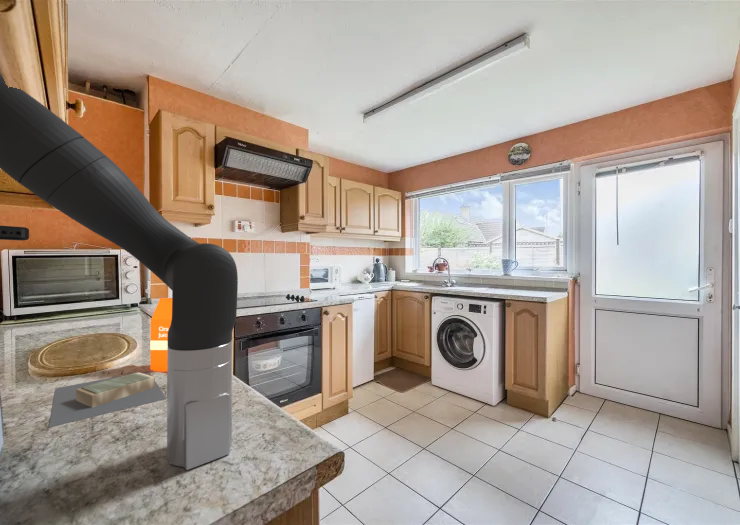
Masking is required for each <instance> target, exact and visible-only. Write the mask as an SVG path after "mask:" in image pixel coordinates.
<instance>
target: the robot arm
mask: <svg viewBox="0 0 740 525" xmlns="http://www.w3.org/2000/svg"><path fill="white" fill-rule="evenodd" d="M2 75H3V74H2V73H1V72H0V169H1V170H2V171H3V172H4V173H5V174H6V175H8V176H9V177H11V179H13V180H14V181H16V182H17V183H18V184H20V185H21V186H22V187H24V188H25V189H26V190H29V191H30V192H31V193H32V194H34V195H36V196H37V197H38V198H40V199H41V200H43V201H44V202H45V203H47V204H49V206H51V207H53V208H55V209H56V210H58V212H61V213H62V214H64V215H66V216H67V217H68V218H70V219H72V220H73V221H75V222H76V223H79V224H80V225H81V226H83V227H85V228H87V229H88V230H90V231H92V232H93V233H95V234H97V235H99V236H100V237H102V238H103V239H106V240H107V241H109V242H110V243H112V244H114V245H116V246H117V247H120V248H121V249H122V250H124V251H126V252H127V253H128V254H130V255H131V256H132V257H133V258H135V260H137V261H139V262H140V264H142V265H144V267H146V268H147V269H148V270H150V271H151V273H153V274H154V275H155V276H156V277H157V278H158V279H159V280H161V282H163V283H164V284H165V285H166V286H167V287H168V288H169V289H170V290H171V292H172V297H171V298H172V319H171V325H170V328H169V330H168V336H167V343H168V347H167V371H166V378H167V379H166V385H167V386H166V459H167V462H168V463H169V464H171V465H172V466H176V467H182V468H184V469H185V470H186V471H188V470H189V471H190V470H191V469H194V468H196V467H199V466H201V465H205V464H206V463H209V462H212V461H215V460H217V459H220V458H222V457H225V456H227V455H230V453H231V447H232V440H233V438H232V437H233V436H232V435H233V434H232V432H233V431H232V430H233V429H232V428H233V425H232V424H233V421H232V420H233V418H232V417H233V416H232V414H233V413H232V410H233V408H232V406H233V405H232V404H233V399H232V397H233V394H232V391H233V390H232V389H233V386H232V384H233V382H232V381H233V379H232V377H233V376H232V375H233V374H232V373H233V371H232V370H233V366H232V365H233V364H232V363H233V362H232V361H233V330H234V327H235V325H236V321H237V314H238V312H237V311H238V310H237V309H238V308H237V307H238V292H239V291H238V285H239V284H238V278H239V277H238V268H237V264H236V262H235V259H234V257H233V256H232V254H231V253H230V252H229V251H228V250H227V249H225V248H224V247H222V246H220V245H217V244H213V243H200V242H198V241H196V240H194V239H193V238H191V237H190V236H189V235H187V234H186V233H184V232H183V231H181V230H180V229H179V228H178V227H176V226H175V225H174V224H172V223H171V222H169V221H168V220H167V219H166V218H165V217H164V216H162V215H161V214H160V213H159V211H158V210H157V209H156V208H155V207H154V206H153V205H152V204H151V202H150V201H149V199H147V197H146V195H144V193H143V192H142V191H141V190H140V189H139V188H138V186H137V185H136V184H135V183H134V182H133V181H132V179H131V178H130V177H129V176H128V175H127V174H126V173H125V172H124V171H123V170H122V169H121V168H120V167H119V166H118V165H117V164H116V163H115V162H114V161H113V160H112V159H111V158H110V157H108V156H107V155H106V154H105V153H103V152H102V151H101V150H100V149H99V148H97V147H96V146H95V145H94V144H93V143H92V142H90V141H89V140H88V139H87V138H85V136H83V135H82V134H81V133H79V131H77V130H76V129H74V128H73V127H72V126H71V125H70V124H68V123H67V122H65V121H64V120H63V119H62V118H60V117H59V116H58V115H57V114H56V113H54V112H53V111H51V110H50V109H49V108H48V107H46V106H45V105H44V104H42V103H41V102H39V101H38V100H37V99H36V98H34V97H33V96H31V95H30V94H28V93H27V92H26V91H25V90H23V89H22V90H21V88H20V89H17V88H13V87H9V88H8V86H7V85H6V84H5V81H4V79H3V77H2ZM29 239H30V229H29V228H28V227H25V226H15V225H13V226H11V225H0V240H1V241H2V240H3V241H19V242H20V241H22V242H24V241H27V240H29Z"/></svg>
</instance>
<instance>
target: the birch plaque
mask: <svg viewBox="0 0 740 525" xmlns="http://www.w3.org/2000/svg"><path fill="white" fill-rule="evenodd" d="M120 376H121V377H118V376H117V377H118V378H114V379H110V380H107V381H103V382H99V383H96V384H92V385H88V386H85V387H82V388H79V389H76V401H78V402H81V403H83V404H85V405H88V406H90V407H95V406H98V405H102V404H105V403H108V402H111V401H114V400H117V399H120V398H123V397H126V396H129V395H133V394H136V393H139V392H142V391H145V390H148V389H151V388H154V387H155V382H156V377H155V376H149V375H146V374H143V373H140V371H139V372H132V373H129V374H125V376H124V375H120Z"/></svg>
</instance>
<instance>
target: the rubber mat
mask: <svg viewBox="0 0 740 525" xmlns="http://www.w3.org/2000/svg"><path fill="white" fill-rule="evenodd" d="M139 373H143V374H146V375H149V376H152V374H151V373H150V371H149V370H147V371H139ZM125 375H126V374H125ZM125 375H124V374H123V376H125ZM121 376H122V375H119V376H115V377H114V376H113V377H108V378H104V379H103V378H102V379H97V380H93V381H92V380H91V381H86V382H82V383H77V384H72V385H65V386H60V387H59V386H58V387H55V390H54V395H53V399H52V400H53V401H52V405H51V406H52V407H51V411H50V418H49V424H48V428H53V427H58V426H61V425H65V424H69V423H73V422H78V421H82V420H86V419H90V418H96V417H99V416H102V415H106V414H112V413H115V412H119V411H123V410H127V409H128V410H129V409H131V408H135V407H140V406H144V405H147V404H152V403H155V402H159V401H164V400H167V396H166V395H165V394H164V393H163V391H162V389H161V388H160V386H159V385H158V384H157V382H156V381H155V387H154V388H151V389H148V390H145V391H142V392H139V393H136V394H133V395H129V396H126V397H123V398H120V399H117V400H114V401H111V402H108V403H105V404H102V405H98V406H95V407H90V406H88V405H85V404H83V403H81V402H78V401H76V389H79V388H82V387H85V386H88V385H92V384H96V383H99V382H103V381H107V380H110V379H114V378H118V377H121Z"/></svg>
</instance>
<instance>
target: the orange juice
mask: <svg viewBox="0 0 740 525" xmlns="http://www.w3.org/2000/svg"><path fill="white" fill-rule="evenodd" d="M151 316H152V317H151V318H150V341H149V342H150V345H149V346H150V347H149V348H150V370H151V371H154V372H167V347H168V343H167V336H168V330H169V328H170V325H171V319H172V297H159V300H158V302H157V305H156V307H155V310H154V312H153V314H152V315H151Z"/></svg>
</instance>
